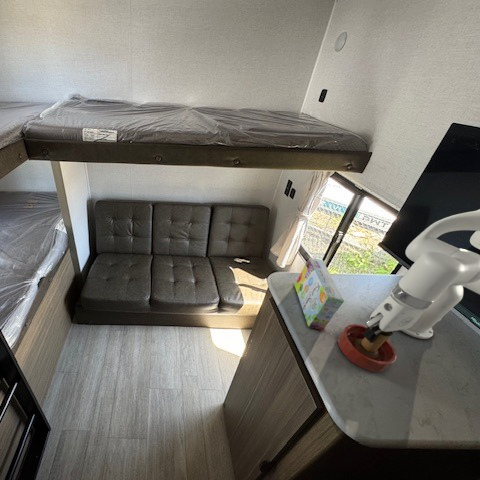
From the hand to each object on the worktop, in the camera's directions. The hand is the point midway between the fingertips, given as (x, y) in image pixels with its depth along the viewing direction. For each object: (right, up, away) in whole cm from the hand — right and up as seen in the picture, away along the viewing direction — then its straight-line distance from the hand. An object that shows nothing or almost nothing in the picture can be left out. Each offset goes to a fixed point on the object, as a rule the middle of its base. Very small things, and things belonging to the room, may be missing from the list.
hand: (374, 337), depth 76 cm
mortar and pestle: (0, -6, +4) cm, 7 cm away
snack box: (-9, +4, +19) cm, 22 cm away
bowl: (0, -6, +5) cm, 8 cm away
